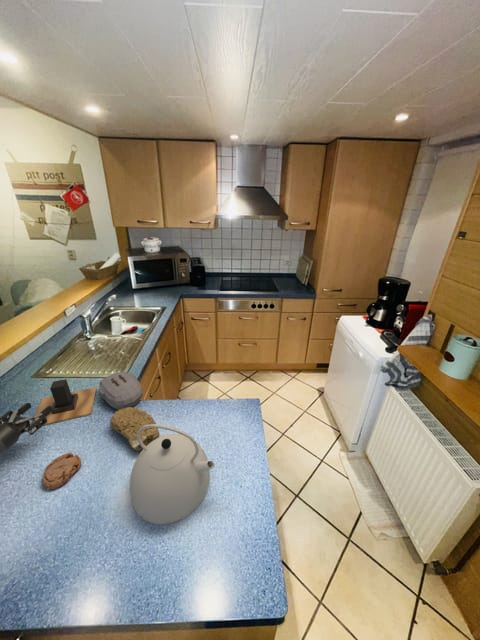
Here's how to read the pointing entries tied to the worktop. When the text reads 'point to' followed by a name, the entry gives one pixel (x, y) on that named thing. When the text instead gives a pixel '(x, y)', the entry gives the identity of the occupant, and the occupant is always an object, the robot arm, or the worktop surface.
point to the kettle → (169, 477)
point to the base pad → (69, 406)
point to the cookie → (60, 470)
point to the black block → (61, 393)
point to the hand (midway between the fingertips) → (40, 406)
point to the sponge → (134, 426)
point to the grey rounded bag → (121, 390)
